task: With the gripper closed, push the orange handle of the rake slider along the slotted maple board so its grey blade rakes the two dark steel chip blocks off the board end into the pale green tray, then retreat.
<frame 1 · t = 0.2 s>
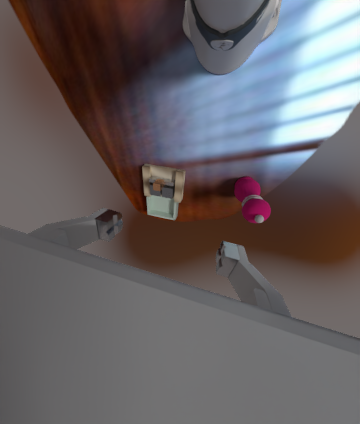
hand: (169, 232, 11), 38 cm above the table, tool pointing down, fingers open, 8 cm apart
slot board: (164, 182, 51), on the table
chip b: (158, 187, 51), point 1 cm above the table, touching slot board
tray: (164, 203, 56), on the table
pepper mill: (244, 185, 45), on the table
rake slider: (160, 183, 46), point 5 cm above the table, slide at 0.0 cm
chip a: (169, 189, 51), point 1 cm above the table, touching slot board
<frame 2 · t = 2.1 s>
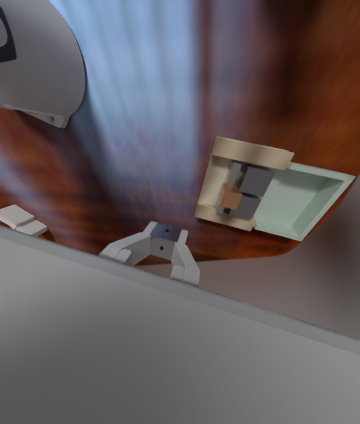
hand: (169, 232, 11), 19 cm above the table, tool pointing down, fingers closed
slot board: (233, 185, 26), on the table
chip b: (241, 200, 26), point 1 cm above the table, touching slot board
white stepped block: (34, 218, 45), on the table
tray: (283, 197, 25), on the table
rake slider: (228, 192, 22), point 5 cm above the table, slide at 0.0 cm
chip a: (251, 177, 24), point 1 cm above the table, touching slot board
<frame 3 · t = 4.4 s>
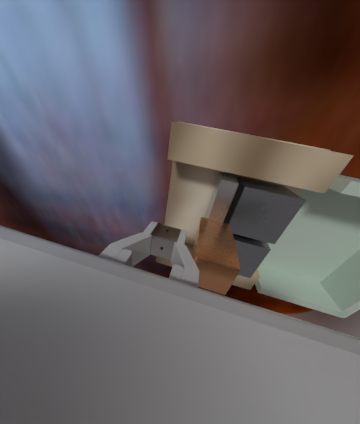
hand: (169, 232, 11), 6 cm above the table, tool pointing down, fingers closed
slot board: (219, 211, 15), on the table
chip b: (233, 238, 15), point 1 cm above the table, touching slot board
tray: (309, 234, 14), on the table
rake slider: (211, 237, 11), point 5 cm above the table, slide at 0.7 cm, touching gripper
chip a: (250, 201, 13), point 1 cm above the table, touching slot board
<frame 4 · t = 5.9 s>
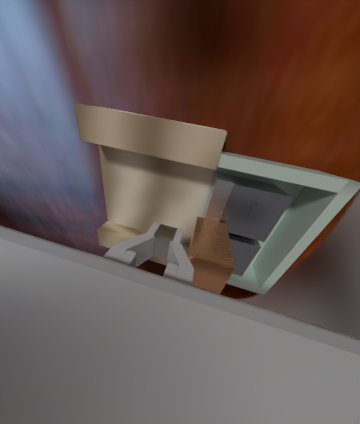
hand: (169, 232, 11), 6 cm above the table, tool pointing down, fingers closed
slot board: (154, 195, 16), on the table
chip b: (225, 236, 15), point 1 cm above the table, touching rake slider, tray
tray: (235, 216, 15), on the table
rake slider: (207, 237, 11), point 5 cm above the table, slide at 8.1 cm, touching chip a, chip b, gripper
chip a: (242, 200, 13), point 1 cm above the table, touching rake slider, tray
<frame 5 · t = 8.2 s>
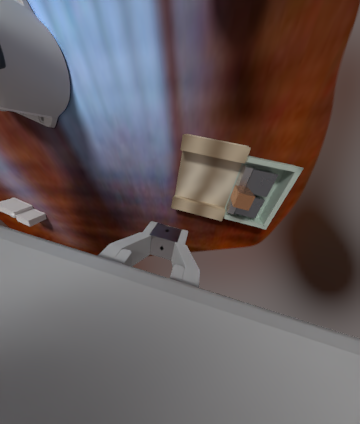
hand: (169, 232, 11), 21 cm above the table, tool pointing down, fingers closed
slot board: (205, 179, 28), on the table
chip b: (245, 201, 28), point 1 cm above the table, touching tray
white stepped block: (34, 209, 47), on the table
tray: (250, 189, 27), on the table
rake slider: (239, 194, 23), point 5 cm above the table, slide at 8.0 cm
chip a: (255, 179, 25), point 1 cm above the table, touching tray
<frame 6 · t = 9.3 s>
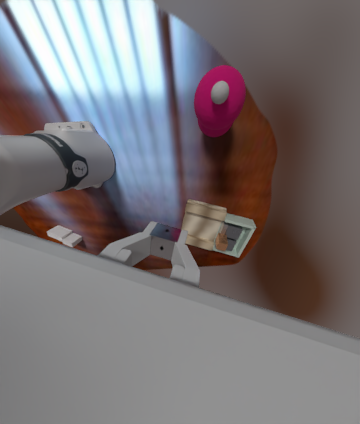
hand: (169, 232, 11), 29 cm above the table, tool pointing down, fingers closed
slot board: (200, 223, 44), on the table
chip b: (226, 238, 43), point 1 cm above the table, touching tray
white stepped block: (72, 232, 61), on the table
tray: (229, 231, 43), on the table
pepper mill: (215, 119, 30), on the table
rake slider: (221, 238, 39), point 5 cm above the table, slide at 8.0 cm
chip a: (231, 227, 41), point 1 cm above the table, touching tray
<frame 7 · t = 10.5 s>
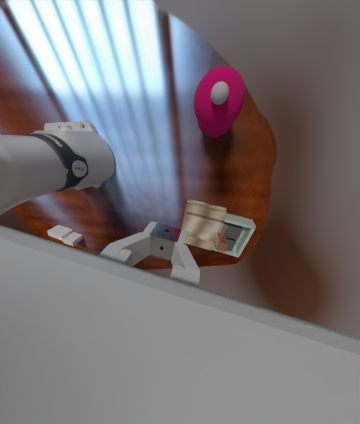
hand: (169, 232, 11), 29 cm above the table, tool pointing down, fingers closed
slot board: (200, 223, 44), on the table
chip b: (226, 238, 43), point 1 cm above the table, touching tray
white stepped block: (73, 232, 61), on the table
tray: (229, 231, 43), on the table
pepper mill: (215, 119, 30), on the table
rake slider: (221, 238, 39), point 5 cm above the table, slide at 8.0 cm
chip a: (231, 227, 41), point 1 cm above the table, touching tray
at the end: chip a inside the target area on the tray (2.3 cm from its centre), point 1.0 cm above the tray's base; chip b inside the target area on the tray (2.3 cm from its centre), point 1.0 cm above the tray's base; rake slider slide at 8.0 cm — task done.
